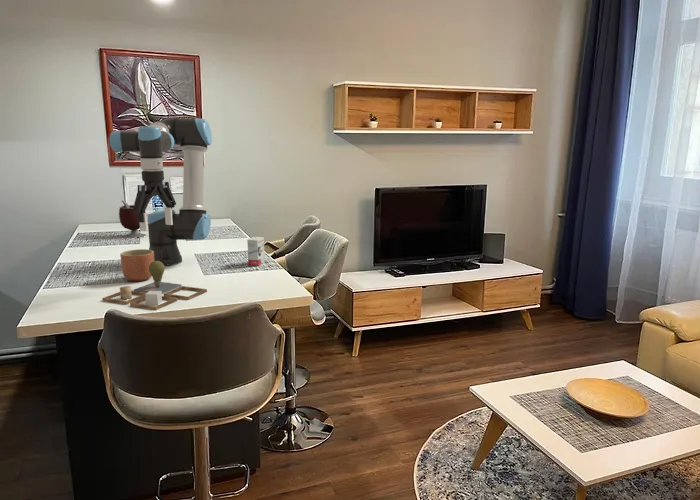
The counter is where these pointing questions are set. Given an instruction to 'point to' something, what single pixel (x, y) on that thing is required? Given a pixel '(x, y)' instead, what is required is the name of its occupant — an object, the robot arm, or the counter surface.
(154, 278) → the light bulb
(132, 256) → the planter
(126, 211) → the mate gourd
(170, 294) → the brown square outline
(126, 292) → the cork stub
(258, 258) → the ink box
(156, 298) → the grey cube
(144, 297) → the wooden square frame
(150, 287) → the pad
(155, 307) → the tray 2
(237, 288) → the counter surface
